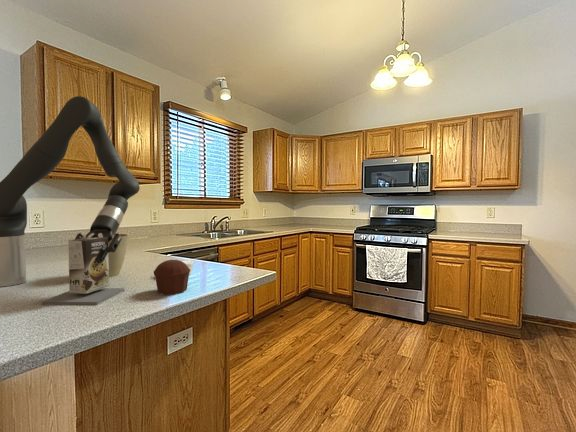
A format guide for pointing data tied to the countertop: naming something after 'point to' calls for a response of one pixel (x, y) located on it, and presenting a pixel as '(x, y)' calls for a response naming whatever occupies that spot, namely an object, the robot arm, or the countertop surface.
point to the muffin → (171, 277)
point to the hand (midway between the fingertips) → (86, 261)
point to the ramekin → (188, 264)
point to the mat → (83, 297)
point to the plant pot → (117, 256)
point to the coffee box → (87, 265)
